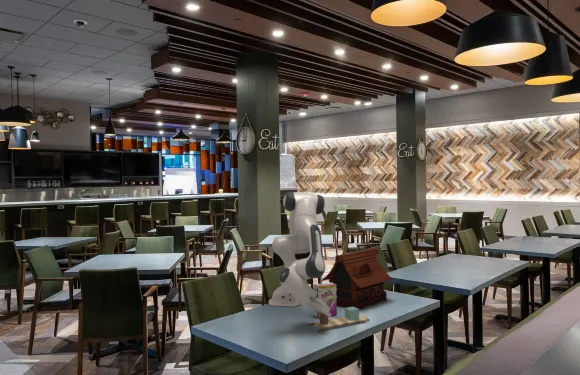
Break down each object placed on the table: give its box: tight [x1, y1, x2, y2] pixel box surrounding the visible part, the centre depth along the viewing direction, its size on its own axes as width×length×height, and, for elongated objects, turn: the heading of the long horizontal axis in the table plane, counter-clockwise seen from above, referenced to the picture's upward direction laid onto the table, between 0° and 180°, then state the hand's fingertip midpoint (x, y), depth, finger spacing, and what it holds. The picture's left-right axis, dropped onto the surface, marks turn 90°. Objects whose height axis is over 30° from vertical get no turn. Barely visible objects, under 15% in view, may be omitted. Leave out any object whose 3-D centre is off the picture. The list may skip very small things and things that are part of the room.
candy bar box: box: [313, 282, 338, 319], centre depth 232 cm, size 11×5×16 cm, turn 111°
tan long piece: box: [314, 305, 370, 329], centre depth 219 cm, size 26×9×10 cm, turn 117°
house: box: [320, 247, 393, 310], centre depth 257 cm, size 35×28×29 cm
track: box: [306, 318, 367, 333], centre depth 218 cm, size 26×11×1 cm, turn 117°
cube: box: [344, 307, 360, 321], centre depth 222 cm, size 5×5×5 cm
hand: (324, 313), depth 215 cm, fingers open, 8 cm apart
